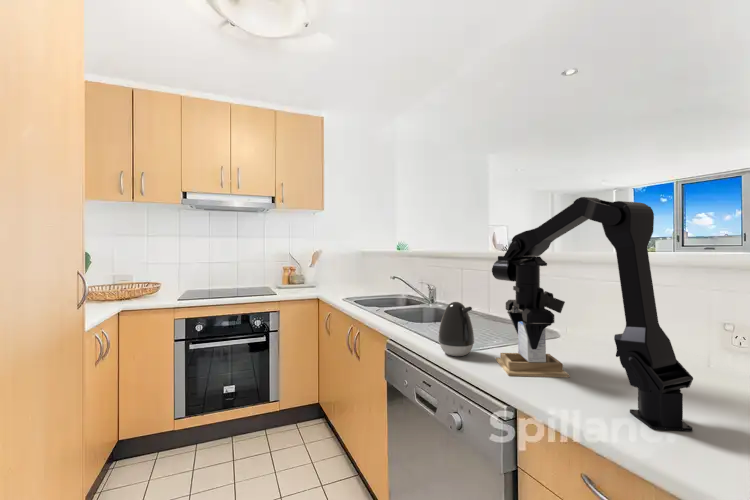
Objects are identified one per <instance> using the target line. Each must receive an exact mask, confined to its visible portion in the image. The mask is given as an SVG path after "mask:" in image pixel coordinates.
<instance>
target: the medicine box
mask: <svg viewBox="0 0 750 500" xmlns="http://www.w3.org/2000/svg"><path fill="white" fill-rule="evenodd" d="M546 341H547V339H546V328H545V329H544V330H543V332H542V334H541V337H540V340H539V344H538V347H537V349H532V348H531V346H530V343H529V340H528V337H527V334H526V331H525V328H524V325H523V322H518V334H517V350H518V351H517V353H519V354H520V355H521V356H522V357H524V358H525V359H526V360H527V361H528V362H534V363H545V362H546V354H547V346H546V345H547V343H546Z"/></svg>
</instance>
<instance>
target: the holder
mask: <svg viewBox="0 0 750 500" xmlns="http://www.w3.org/2000/svg"><path fill="white" fill-rule="evenodd" d="M495 361H496V362H497V363H498V364H499V365H500V367H501V368H502V370H503V371H504V372H505V373H506V374H507V376H509V377H537V378H538V377H541V378H542V377H543V378H544V377H545V378H570V374H569V373H568V372H566V371H565V370H564V369H563V368H564V367H563V366H564V365H563V363H562V362H561V361H560V360H558V359H557V358H556V357H554V356H553V355H551V354H550V353H546V362H545V363H534V362H528V361H527V360H526V359H525V358H524V357H522V356H521V355H520V354H519V353H518V352H500V357H495Z"/></svg>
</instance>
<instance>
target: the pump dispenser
mask: <svg viewBox="0 0 750 500" xmlns="http://www.w3.org/2000/svg"><path fill="white" fill-rule="evenodd" d="M472 310H473V307H472V306H466V307H465V305H464V304H463V303H461V302H459V301H452V302H449V304H448V305H447V306H446V308H445V309H444V312H443V315H442V317H441V320H440V325H439V331H438V335H437V337H438V343H439V345H440V348H441V350H442V352H444V353H445V354H446V355H448V356H451V357H463V356H466V355H468V354H469V353H471V351H472V349H473V346H474V344H475V336H474V335H475V334H474V327H473V324H472V319H471V317H470V314H469V312H470V311H472Z"/></svg>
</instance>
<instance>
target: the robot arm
mask: <svg viewBox="0 0 750 500" xmlns="http://www.w3.org/2000/svg"><path fill="white" fill-rule="evenodd" d="M654 219H655V213H654V211H653V208H652V207H651V206H649V205H648V204H646V203H643V202H638V201H622V200H617V201H616V200H615V201H608V200H603V199H599V198H597V197H589V196H581V197H578V198H576V199H575V200H574V201H573V202H572V203H571V204H570V205H568V206H567V207H566V208H564V209H563V210H561V211H560V212H558V213H557V214H555V215H554V216H552V217H551V218H549V219H547V220H546V221H545V222H543V223H542V224H540V225H539V226H537V227H535V228H532V229H528V230H524V231H522V232H520V233H518V234H516V235H514V236H513V237H512V238H511V243H510V244H509V247H508V249H507V250H506V252H505V253H504V254H503V255H498V256H497V260H496V261H495V262H494V263H493V265H492V267H491V273H492V276H493V277H494V279H496V280H498V281H505V282H507V281H508V282H515V285H513V287H512V290H513V291H514V292H515V299H508V300H507V301H506V302H505V310H506V311H507V312H506V313H507V314H508V316H509V319H510V321H511V323H512V325H513V328H514V330H515V332H516V334H517V335H518V322H523V325H524V328H525V331H526V334H527V337H528V340H529V343H530V346H531V348H532V349H537V347H538V344H539V340H540V337H541V334H542V332H543V330H544V329H545V330H546V328H547V327H549V326H550V327H551V326H552V324H555V314H554V313H553V312H552V311H554V312H555V313H556V312H557V313H558V314H561V313H562V311H563V309H564V306H565V303H566V302H565V301H564V300H562V299H558V298H556V297H554V294H553V293H551V292H549V291H545V290H544V289H543V287H541V281H540V280H541V279H540V278H541V277H540V276H541V272H540V271H541V267H547V266H548V263H547V262H546V261H545V260H544V259H543V258H542V257H541V256H542V255H543V254H544V253H545V252H546V251H547V250H548V249H550V247H551V244H552V243H553V242H554V241H555V240H557V239H558V238H560V237H562V236H563V235H565V234H567V233H568V232H569V231H572V230H573V229H575V228H576V227H578V226H580V225H582V224H583V223H584V222H586V221H589V220H590V221H592V222H597V223H600V224H601V225H602V229H603V233H604V235H605V237H606V238H607V241H609V242H610V244H611V246H613V248H614V249H615V255H616V261H617V269H618V276H619V282H620V289H621V290H620V291H621V296H622V297H621V298H622V303H623V311H624V318H625V327H624V330H623V332H622V333H616V334H614V335H613V337H614V344H615V347H616V353H615V357H616V358H618V359H619V361H620V365H621V367H622V368H623V369H624V370H625V373H626V376H627V379H628V381H629V385H630V386H631V387H634V388H637V409H632V408H631V409H629V413H630V414H631V415H633V416H634V417H636V419H638V420H640V421H641V422H642V423H644V425H646V426H648V427H649V428H651V429H653V430H661V431H664V430H665V431H689V432H693V427H692V426H691V425H689V424H688V423H686V422H685V421H684V419H683V418H684V416H683V415H684V414H683V413H684V412H683V411H684V410H683V409H684V407H683V406H684V405H683V401H684V398H683V397H684V394H683V393H682V389H685V388H686V389H688V388H690V386H691V385H692V382H693V380H694V377H693V376H692V375H691V374H690V372H689V371H688V370H687V369H686V368H685V367H684V366H683V365H682V363H680V362H679V360H677V356H676V354H675V351H674V348H673V345H672V342H671V340H670V338H669V336H668V335H667V334H666V332H665V331H664V330H663V328H662V327H661V325H660V323H659V317H658V311H657V305H656V297H655V292H654V291H655V290H654V285H653V278H652V277H653V276H652V271H651V264H650V257H649V251H648V246H649V243H650V241H651V238H652V235H653V233H654V223H655V220H654ZM549 309H550V310H549ZM551 310H552V311H551Z"/></svg>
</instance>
